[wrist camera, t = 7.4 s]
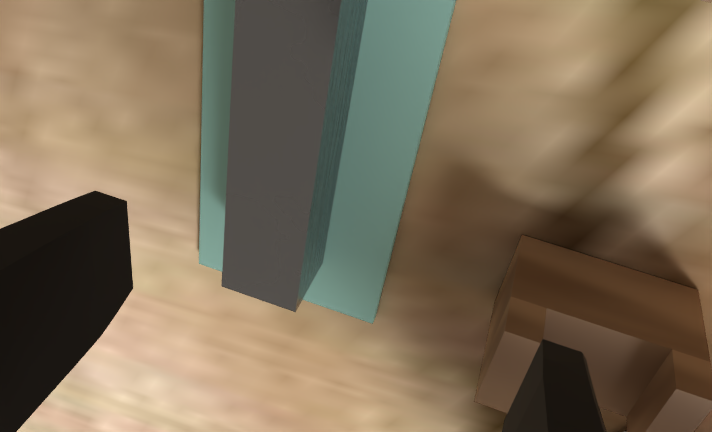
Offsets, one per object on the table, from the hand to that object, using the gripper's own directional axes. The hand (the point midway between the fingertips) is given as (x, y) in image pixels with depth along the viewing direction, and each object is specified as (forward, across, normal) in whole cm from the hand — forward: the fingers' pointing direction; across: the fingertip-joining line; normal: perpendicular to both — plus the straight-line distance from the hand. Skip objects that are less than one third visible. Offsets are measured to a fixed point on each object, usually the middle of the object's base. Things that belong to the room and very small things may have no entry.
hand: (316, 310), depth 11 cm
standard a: (+10, -6, +6) cm, 13 cm away
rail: (+9, +4, 0) cm, 10 cm away
